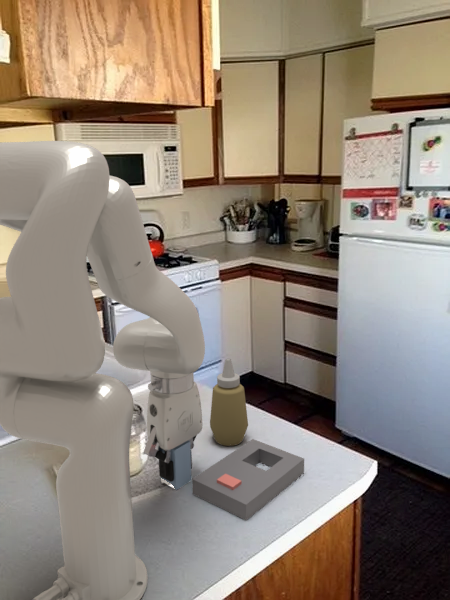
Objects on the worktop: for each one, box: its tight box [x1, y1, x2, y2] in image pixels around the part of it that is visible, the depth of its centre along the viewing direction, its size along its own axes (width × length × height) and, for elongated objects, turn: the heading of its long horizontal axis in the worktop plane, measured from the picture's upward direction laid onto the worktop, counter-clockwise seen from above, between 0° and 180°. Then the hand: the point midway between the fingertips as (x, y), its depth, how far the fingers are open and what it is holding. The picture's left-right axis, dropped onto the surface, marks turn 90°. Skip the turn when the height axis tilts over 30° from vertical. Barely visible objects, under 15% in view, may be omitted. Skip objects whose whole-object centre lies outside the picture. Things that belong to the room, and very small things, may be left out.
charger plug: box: [160, 441, 192, 491], centre depth 101 cm, size 4×4×8 cm
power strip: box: [191, 438, 305, 521], centre depth 101 cm, size 18×12×4 cm, turn 141°
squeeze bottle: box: [209, 358, 249, 447], centre depth 115 cm, size 8×8×18 cm
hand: (175, 472), depth 102 cm, fingers closed on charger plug, 4 cm apart
